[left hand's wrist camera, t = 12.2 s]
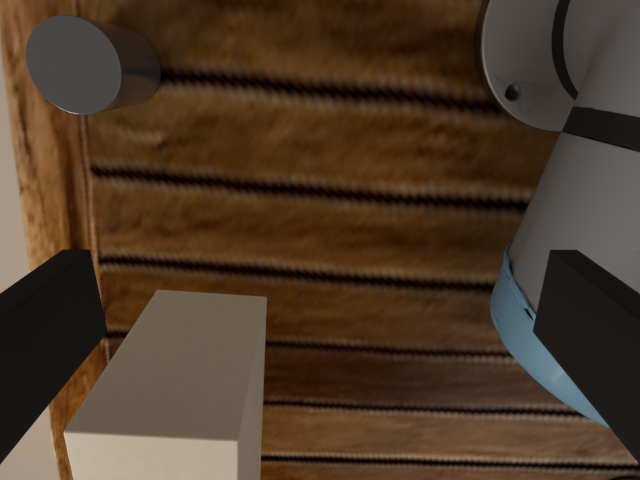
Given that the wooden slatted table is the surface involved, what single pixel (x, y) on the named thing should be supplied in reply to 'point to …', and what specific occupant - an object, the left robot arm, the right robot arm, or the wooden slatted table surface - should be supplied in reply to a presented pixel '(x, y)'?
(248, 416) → the plank
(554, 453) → the wooden slatted table surface
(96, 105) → the dark grey cylinder
